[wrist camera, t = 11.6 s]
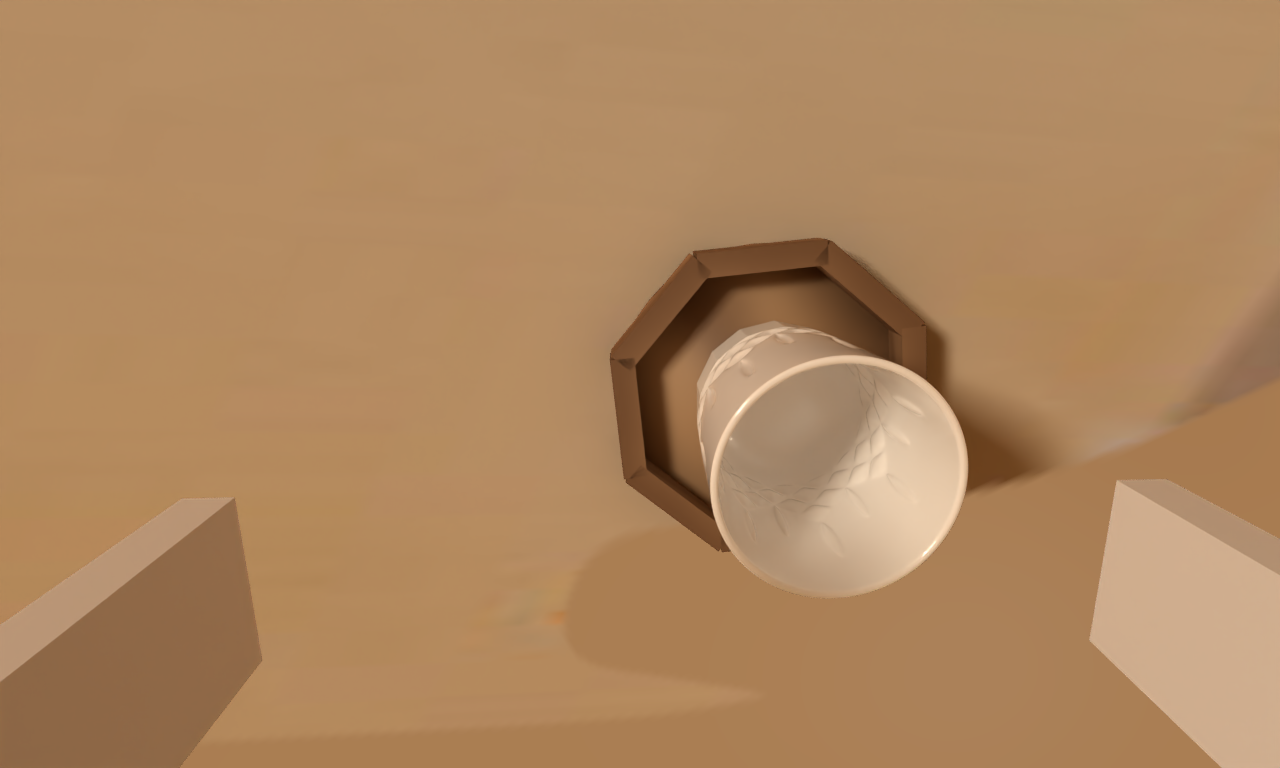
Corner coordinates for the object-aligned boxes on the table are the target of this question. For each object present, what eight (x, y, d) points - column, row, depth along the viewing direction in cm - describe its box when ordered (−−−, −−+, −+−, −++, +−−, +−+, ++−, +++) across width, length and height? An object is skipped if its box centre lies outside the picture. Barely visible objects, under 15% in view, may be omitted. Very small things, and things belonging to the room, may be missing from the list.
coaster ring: (748, 178, 30) (757, 176, 28) (966, 368, 32) (990, 380, 30) (557, 413, 32) (552, 428, 30) (774, 576, 34) (784, 600, 32)
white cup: (887, 432, 32) (1005, 532, 22) (728, 509, 33) (776, 638, 23) (817, 274, 30) (912, 308, 21) (650, 359, 31) (665, 430, 21)
